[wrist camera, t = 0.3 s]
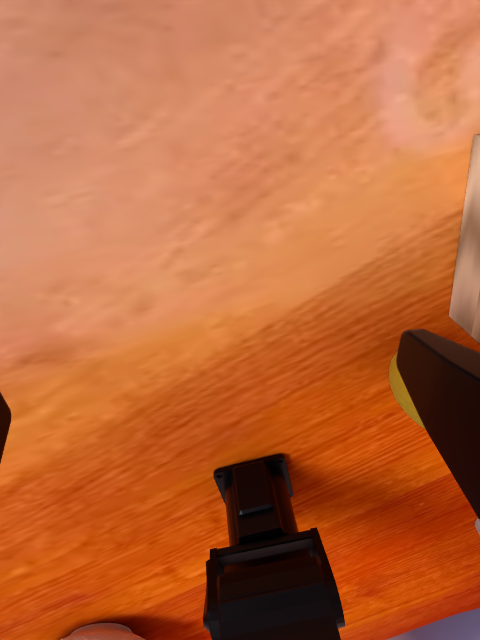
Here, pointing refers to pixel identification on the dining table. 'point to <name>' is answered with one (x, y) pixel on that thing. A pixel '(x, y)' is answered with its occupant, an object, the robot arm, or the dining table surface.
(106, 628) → the cereal bowl
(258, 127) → the dining table surface
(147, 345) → the dining table surface
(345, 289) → the dining table surface
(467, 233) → the base
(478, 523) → the coffee cup
